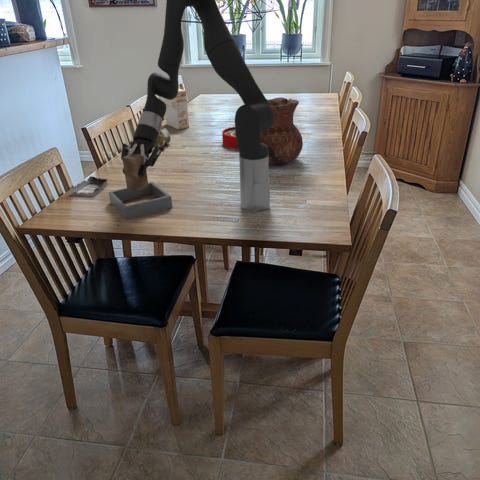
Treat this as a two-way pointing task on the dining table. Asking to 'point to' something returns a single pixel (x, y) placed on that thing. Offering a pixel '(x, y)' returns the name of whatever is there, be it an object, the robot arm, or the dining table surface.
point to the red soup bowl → (229, 138)
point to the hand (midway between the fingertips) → (132, 175)
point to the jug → (282, 133)
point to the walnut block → (134, 172)
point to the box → (143, 207)
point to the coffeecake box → (177, 111)
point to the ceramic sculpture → (163, 138)
